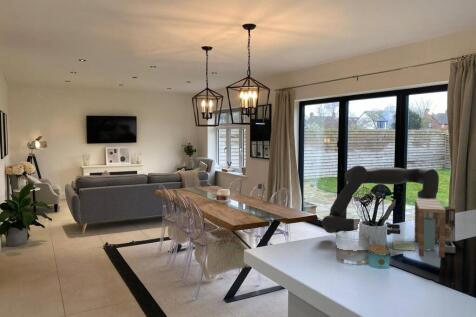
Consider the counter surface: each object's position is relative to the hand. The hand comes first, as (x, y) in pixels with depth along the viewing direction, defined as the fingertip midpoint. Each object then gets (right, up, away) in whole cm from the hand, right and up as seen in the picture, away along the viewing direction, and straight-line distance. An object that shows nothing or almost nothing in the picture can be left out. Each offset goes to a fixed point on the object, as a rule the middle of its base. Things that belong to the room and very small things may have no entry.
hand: (400, 229), depth 171 cm
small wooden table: (+11, -8, -4) cm, 15 cm away
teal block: (+11, -8, -4) cm, 15 cm away
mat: (+2, -8, 0) cm, 8 cm away
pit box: (+19, -8, -7) cm, 22 cm away
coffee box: (+25, -7, +9) cm, 28 cm away
